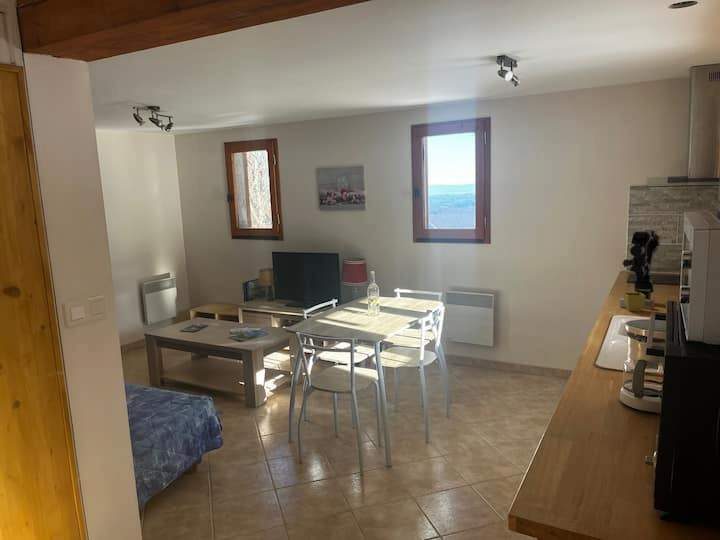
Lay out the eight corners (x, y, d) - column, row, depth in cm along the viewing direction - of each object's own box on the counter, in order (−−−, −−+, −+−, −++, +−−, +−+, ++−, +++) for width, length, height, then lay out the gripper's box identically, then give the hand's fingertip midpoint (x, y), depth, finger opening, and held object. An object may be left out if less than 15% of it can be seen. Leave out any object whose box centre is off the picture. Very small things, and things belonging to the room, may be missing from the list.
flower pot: (645, 312, 279) (646, 295, 277) (627, 312, 280) (628, 295, 279) (639, 308, 287) (640, 292, 286) (622, 308, 289) (623, 292, 288)
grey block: (620, 306, 296) (620, 298, 295) (629, 306, 294) (629, 298, 293) (619, 307, 292) (620, 299, 291) (629, 308, 290) (629, 300, 289)
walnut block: (645, 307, 291) (645, 299, 291) (653, 308, 287) (654, 300, 287) (640, 308, 289) (640, 300, 288) (648, 309, 285) (649, 301, 284)
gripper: (628, 252, 302) (627, 279, 304) (620, 255, 288) (619, 284, 290) (650, 252, 295) (648, 280, 297) (643, 256, 281) (641, 285, 283)
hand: (639, 282), depth 292 cm, fingers closed
